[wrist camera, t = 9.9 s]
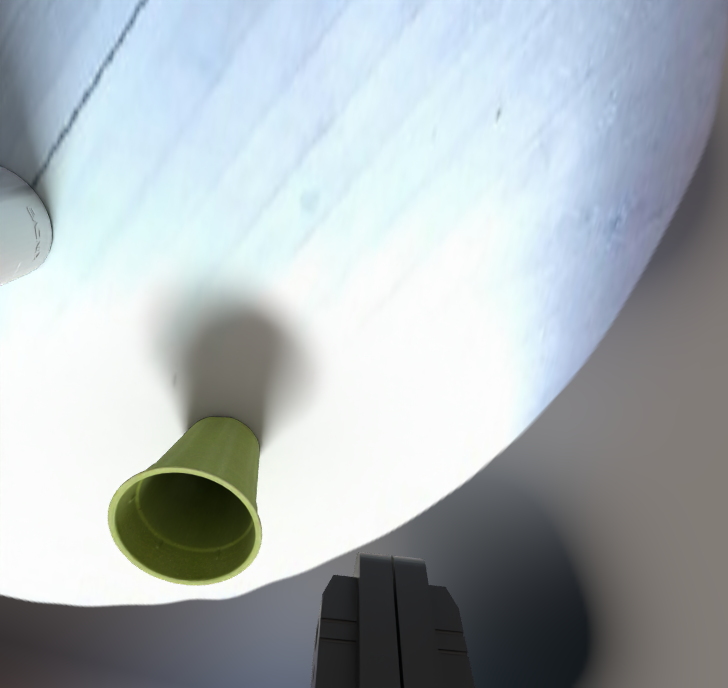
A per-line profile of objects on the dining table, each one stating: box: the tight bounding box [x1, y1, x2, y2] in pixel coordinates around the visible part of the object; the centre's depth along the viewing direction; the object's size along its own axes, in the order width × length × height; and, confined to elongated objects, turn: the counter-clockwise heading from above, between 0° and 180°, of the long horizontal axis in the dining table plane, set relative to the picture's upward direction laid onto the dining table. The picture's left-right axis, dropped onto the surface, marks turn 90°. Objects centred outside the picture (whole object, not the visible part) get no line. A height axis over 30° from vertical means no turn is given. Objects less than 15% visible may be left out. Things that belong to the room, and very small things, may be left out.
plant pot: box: [108, 417, 262, 585], centre depth 44 cm, size 12×12×11 cm
